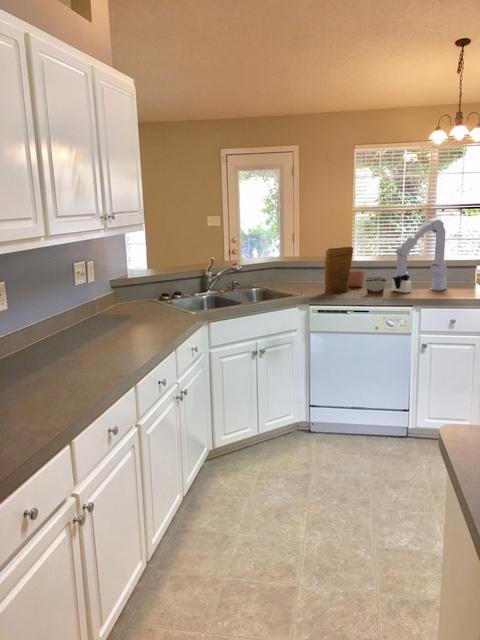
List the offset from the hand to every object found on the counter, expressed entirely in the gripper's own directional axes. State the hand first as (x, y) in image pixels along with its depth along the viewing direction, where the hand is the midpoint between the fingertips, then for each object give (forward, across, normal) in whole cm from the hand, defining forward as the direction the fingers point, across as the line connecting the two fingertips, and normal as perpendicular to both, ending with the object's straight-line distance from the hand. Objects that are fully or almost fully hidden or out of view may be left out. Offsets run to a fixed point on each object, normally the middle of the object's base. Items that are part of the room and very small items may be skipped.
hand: (400, 287), depth 321 cm
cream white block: (+2, 0, 0) cm, 2 cm away
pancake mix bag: (+3, -28, +27) cm, 39 cm away
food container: (+3, -18, +7) cm, 20 cm away
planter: (+3, -3, +32) cm, 32 cm away
